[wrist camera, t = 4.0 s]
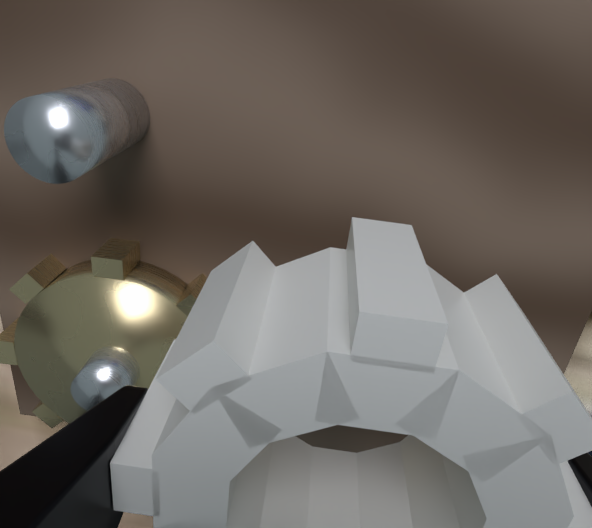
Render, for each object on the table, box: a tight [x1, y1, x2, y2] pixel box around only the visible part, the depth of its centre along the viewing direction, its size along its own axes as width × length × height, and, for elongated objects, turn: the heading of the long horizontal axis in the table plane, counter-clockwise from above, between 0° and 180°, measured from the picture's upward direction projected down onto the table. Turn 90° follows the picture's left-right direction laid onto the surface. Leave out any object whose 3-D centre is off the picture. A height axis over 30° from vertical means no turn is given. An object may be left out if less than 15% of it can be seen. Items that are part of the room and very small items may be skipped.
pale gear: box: [110, 217, 592, 528], centre depth 8 cm, size 7×7×3 cm
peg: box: [4, 78, 150, 184], centre depth 13 cm, size 2×2×4 cm
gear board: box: [0, 0, 592, 453], centre depth 17 cm, size 18×21×2 cm
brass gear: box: [0, 238, 207, 428], centre depth 17 cm, size 9×9×3 cm
